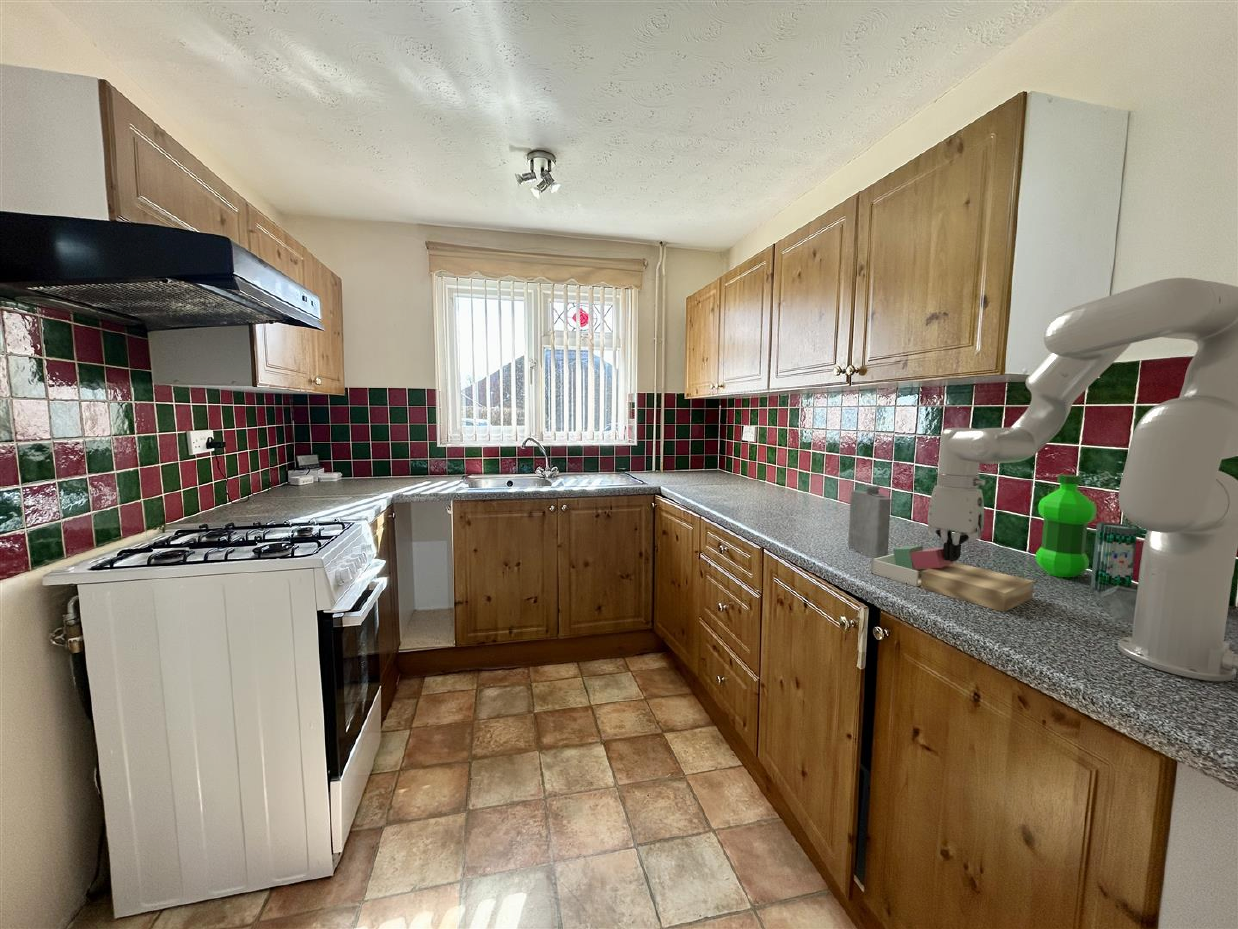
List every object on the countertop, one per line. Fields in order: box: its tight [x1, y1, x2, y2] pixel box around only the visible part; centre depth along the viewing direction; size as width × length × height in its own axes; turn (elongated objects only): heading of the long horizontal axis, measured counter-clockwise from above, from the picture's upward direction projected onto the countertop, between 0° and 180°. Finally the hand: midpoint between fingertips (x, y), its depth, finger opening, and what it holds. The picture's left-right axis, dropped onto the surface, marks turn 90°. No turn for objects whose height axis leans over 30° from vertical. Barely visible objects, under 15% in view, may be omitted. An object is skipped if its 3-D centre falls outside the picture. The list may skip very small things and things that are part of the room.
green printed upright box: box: [1090, 522, 1139, 592], centre depth 110 cm, size 6×6×15 cm
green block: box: [892, 545, 927, 572], centre depth 120 cm, size 6×6×4 cm
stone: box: [1098, 585, 1137, 624], centre depth 96 cm, size 11×4×10 cm
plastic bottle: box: [1035, 474, 1097, 578], centre depth 120 cm, size 10×10×25 cm
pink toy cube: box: [910, 546, 954, 569], centre depth 116 cm, size 6×6×4 cm
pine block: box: [920, 561, 1035, 613], centre depth 108 cm, size 16×14×4 cm
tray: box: [870, 553, 930, 587], centre depth 120 cm, size 11×14×4 cm
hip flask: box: [847, 484, 892, 560], centre depth 137 cm, size 16×4×20 cm, turn 5°
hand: (951, 559), depth 112 cm, fingers closed
